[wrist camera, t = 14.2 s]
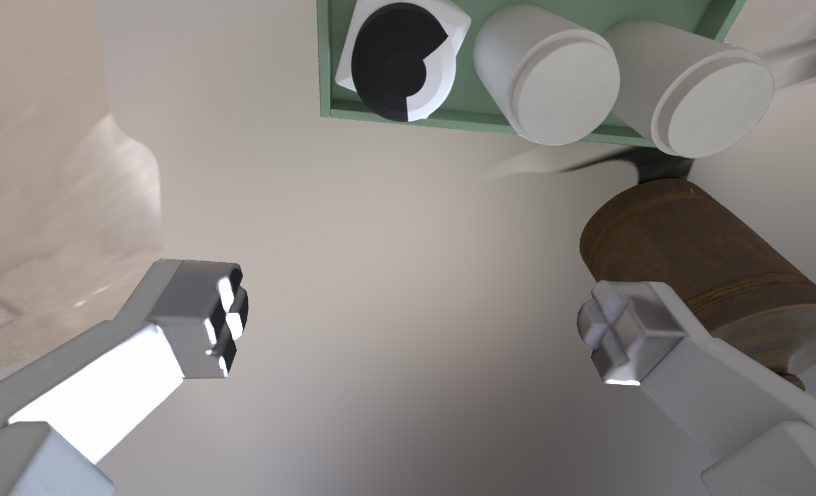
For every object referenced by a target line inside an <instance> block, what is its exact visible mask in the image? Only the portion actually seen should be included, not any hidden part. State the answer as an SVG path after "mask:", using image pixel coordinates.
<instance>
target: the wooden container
mask: <svg viewBox="0 0 816 496" xmlns="http://www.w3.org/2000/svg"><path fill="white" fill-rule="evenodd" d="M580 253H581V256H582V259H583V261H584V262H585V264H586V266H587V267H588V269H589V270H590V272H591V274H592V275H593V277H594V278H595V280H596V282H597V283H598V282H599V281H601V280H613V281H638V282H642V281H644V282H664V283H665V284H667V285H669V286H670V287H671V288H672V289H673V290H674V292H675V293H676V294H677V295H678V296H679V298H680V299H681V300H682V301H683V302H684V304H685V305H686V306H687V307H688V308H689V310H690V311H691V312H692V313H693V314H694V316H695V317H696V318H697V319H698V321H699V322H700V323H701V324H702V325H703V327H704V328H705V329H706V330H707V331H708V333H709V334H710V335H711V336H712V337H713V338H720V339H721V340H723V341H724V342H726V343H728V344H729V345H731V346H732V347H734V348H736V349H737V350H739V351H740V352H742V353H744V354H745V355H747V356H748V357H750V358H752V359H753V360H755V361H756V362H758V363H760V364H761V365H763V366H764V367H766V368H768V369H769V370H771V371H772V372H774V373H776V374H777V375H779V376H780V377H782V378H784V379H785V380H787V381H788V382H790V383H792V384H793V385H795V386H796V387H798V388H800V389H801V390H803V391H804V392H805V390H806V389H805V386H804V384H803V383H802V381H801V380H800V379H799V378H797V377H796V376H797V375H799V374H801V373H803V372H805V371H807V370H808V369H810V368H812V367H814V366H815V365H816V284H814V283H813V282H812V281H810V280H809V279H808V278H807V277H806V276H805V275H804V274H802V273H801V272H800V271H799V270H798V269H797V268H795V267H794V266H793V265H792V264H791V263H790V262H788V261H787V260H786V259H785V258H784V257H783V256H781V255H780V254H779V253H778V252H777V251H776V250H775V249H773V248H772V247H771V246H770V245H769V244H768V243H767V242H766V241H764V240H763V239H762V238H761V237H760V236H759V235H758V234H757V233H755V232H754V231H753V230H752V229H751V228H749V227H748V226H747V225H746V224H745V223H744V222H742V221H741V220H740V219H739V218H738V217H736V216H735V215H734V214H733V213H731V212H730V211H729V210H728V209H726V208H725V207H724V206H722V205H721V204H720V203H718V202H717V201H716V200H715V199H713V198H712V197H711V196H710V195H709V194H707V193H706V192H705V191H704V190H702V189H701V188H700V187H698V186H697V185H695V184H693V183H691V182H689V181H686V180H682V179H674V178H666V179H658V180H653V181H648V182H645V183H642V184H639V185H636V186H634V187H632V188H630V189H627V190H625V191H623V192H621V193H620V194H618V195H616V196H615V197H613V198H612V199H611V200H609V201H608V202H607V203H606V204H604V205H603V206H602V207H601V208H600V209H599V210H598V211H597V212H596V213H595V214H594V215H593V216H592V218H591V219H590V220H589V221H588V223H587V225H586V226H585V228H584V230H583V232H582V235H581V239H580Z"/></svg>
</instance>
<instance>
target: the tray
mask: <svg viewBox="0 0 816 496" xmlns="http://www.w3.org/2000/svg"><path fill="white" fill-rule="evenodd" d="M452 1H454V2H455V3H456V4H457V5H458V6H459V7H460V8H461V9H462V10H463V11H464V12H465V13H466V14H467V15H468V16H469V17H470V18H471V25H470V27H469V29H468V31H467V33H466V35H465V38H464V40H463V42H462V44H461V46H460V49H459V51H458V53H457V55H456V57H455V58H456V72H455V78H454V82H453V85H452V88H451V90H450V92H449V94H448V96H447V97H446V99H445V100H444V102H443V103H442V104H441V105H440V106H439V107H438V108H437V109H436V110H435V111H434V112H432V113H431V114H429V116H428V117H427V118H426V119H422V118H421V119H418V120H415V121H410V122H397V121H391V120H388V119H385V118H383V117H381V116H379V115H377V114H375V113H374V112H373V111H372V110H370V109H369V108H368V107H367V106H366V105H365V104H364V102H363V101H362V100H361V98H360V97H359V95H358V93H357V92H356V91H353V90H351V89H348V88H346V87H343V86H341V85H339V84H337V83H336V81H335V76H336V73H337V69H338V66H339V62H340V59H341V55H342V52H343V48H344V45H345V41H346V38H347V34H348V31H349V27H350V23H351V20H352V16H353V13H354V9H355V6H356V2H357V0H317V23H318V24H317V25H318V51H319V52H318V54H319V81H320V82H319V83H320V111H321V117H331V118H340V119H351V120H362V121H372V122H373V121H374V122H384V123H395V124H406V125H416V126H427V127H438V128H449V129H460V130H471V131H481V132H492V133H503V134H515V135H519V134H518V133H517V132H516V131H515V130H514V129H513V127H512V126H511V124H510V123H509V121H508V120H507V119H506V117H505V116H504V114H503V113H502V111H501V110H500V108H499V107H498V105H497V104H496V102H495V101H494V99H493V98H492V96H491V95H490V93H489V92H488V90H487V89H486V87H485V86H484V84H483V83H482V82H481V80H480V79H479V77H478V75H477V73H476V71H475V68H474V64H473V46H474V42H475V39H476V36H477V33H478V32H479V30H480V28H481V26H482V25H483V23H484V22H485V21H486V19H487V18H488V17H489V16H490V15H491V14H492V13H493V12H495V11H496V10H497V9H499V8H501V7H503V6H505V5H507V4H510V3H514V2H528V3H532V4H534V5H536V6H539V7H541V8H543V9H545V10H547V11H549V12H552V13H554V14H556V15H558V16H560V17H562V18H565V19H567V20H569V21H571V22H573V23H575V24H578V25H580V26H582V27H584V28H586V29H588V30H591V31H593V32H595V33H597V34H598V35H600V36H602V35H603V34H604V33H605V32H606V31H607V30H608V29H610V28H611V27H613V26H614V25H616V24H618V23H620V22H622V21H624V20H627V19H631V18H646V19H650V20H653V21H656V22H659V23H662V24H665V25H668V26H672V27H675V28H678V29H681V30H684V31H687V32H690V33H694V34H697V35H700V36H703V37H706V38H709V39H712V40H715V41H719V42H722V41H723V40H724V38H725V36H726V34H727V33H728V31H729V29H730V28H731V26H732V24H733V22H734V21H735V19H736V17H737V16H738V14H739V12H740V10H741V9H742V7H743V5H744V4H745V2H746V0H452ZM579 140H580V141H590V142H601V143H612V144H623V145H634V146H645V147H655V148H657V147H656V146H655V145H653V144H652V143H651V142H649V141H648V140H647V139H646V138H644V137H643V136H642V135H640V134H639V133H638V132H636V131H635V130H634V129H633V128H631V127H630V126H629V125H627V124H626V123H625V122H624V121H622V120H621V119H620V118H618V117H617V116H616V115H615V114H613V113H612V112H611V111H610V112H609V114H608V115H607V117H606V118H605V119H604V120H603V122H602V123H601V124H600V125H599V126H598V127H597V128H595V129H594V130H593V131H592V132H590V133H589V134H588V135H586V136H585V137H583V138H581V139H579Z"/></svg>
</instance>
